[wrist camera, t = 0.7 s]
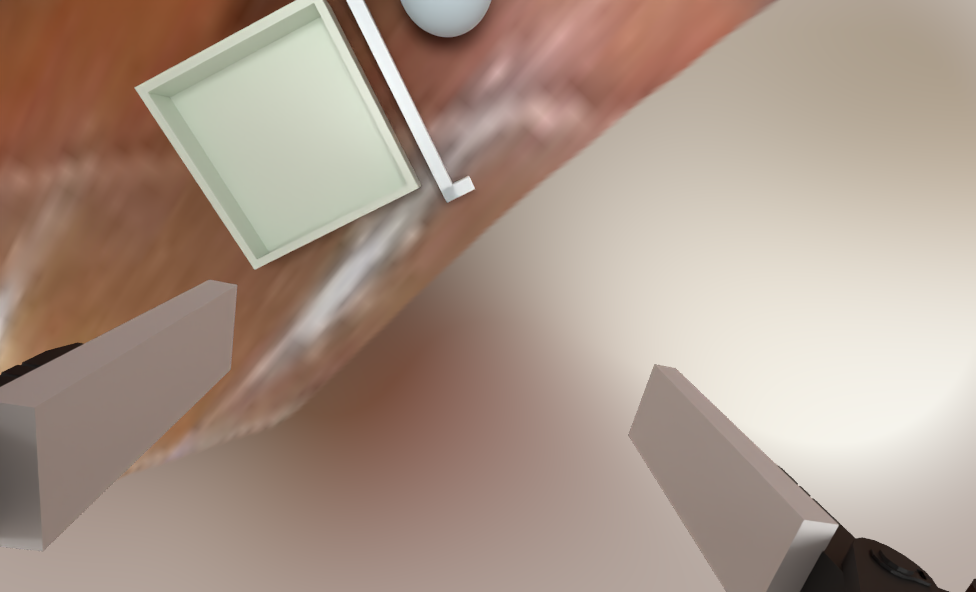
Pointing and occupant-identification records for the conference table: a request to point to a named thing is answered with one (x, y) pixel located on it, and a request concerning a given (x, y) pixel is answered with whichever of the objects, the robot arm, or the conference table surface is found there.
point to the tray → (282, 131)
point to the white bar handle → (407, 104)
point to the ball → (446, 15)
